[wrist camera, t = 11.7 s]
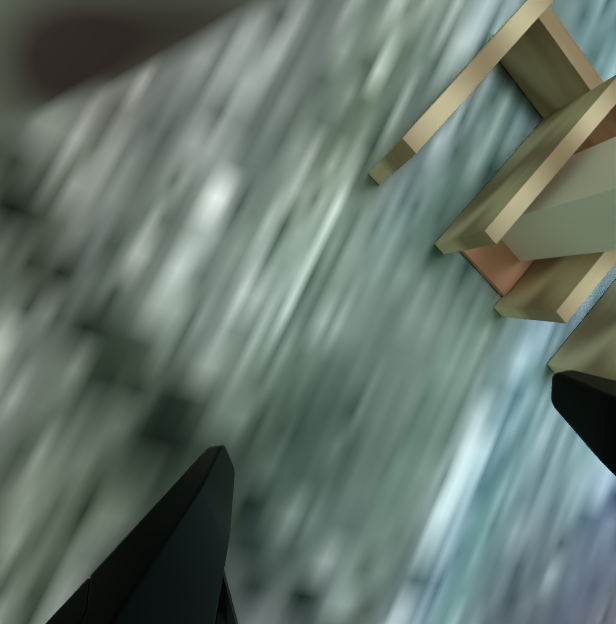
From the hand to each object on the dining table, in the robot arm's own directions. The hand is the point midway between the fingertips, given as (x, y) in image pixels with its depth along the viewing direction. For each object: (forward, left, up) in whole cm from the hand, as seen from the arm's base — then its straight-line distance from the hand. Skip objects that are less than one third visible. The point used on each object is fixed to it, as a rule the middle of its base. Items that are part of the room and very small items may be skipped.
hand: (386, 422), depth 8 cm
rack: (+5, -17, -11) cm, 21 cm away
